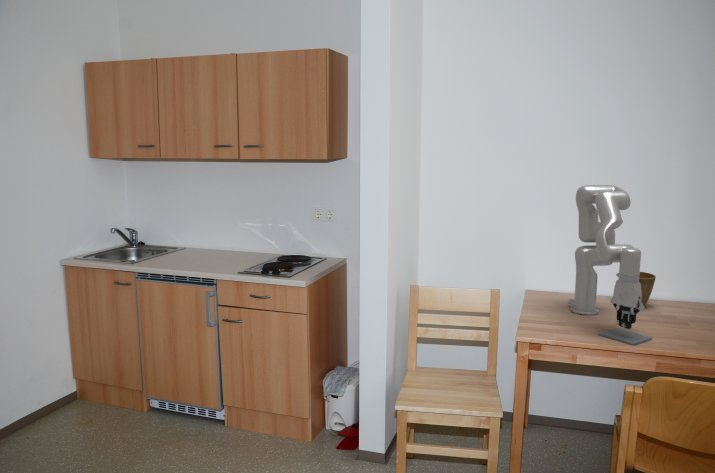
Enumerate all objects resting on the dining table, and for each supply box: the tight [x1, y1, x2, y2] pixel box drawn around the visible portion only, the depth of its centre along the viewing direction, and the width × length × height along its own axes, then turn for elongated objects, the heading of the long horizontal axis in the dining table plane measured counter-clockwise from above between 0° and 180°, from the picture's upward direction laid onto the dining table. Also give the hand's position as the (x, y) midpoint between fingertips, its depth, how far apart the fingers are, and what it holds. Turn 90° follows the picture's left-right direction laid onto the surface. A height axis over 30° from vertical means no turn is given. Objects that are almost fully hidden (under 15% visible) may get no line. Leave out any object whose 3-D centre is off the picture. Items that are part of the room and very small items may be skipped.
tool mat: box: [597, 327, 653, 346], centre depth 239 cm, size 16×13×1 cm
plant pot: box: [637, 271, 657, 309], centre depth 282 cm, size 15×15×16 cm
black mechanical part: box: [616, 305, 633, 330], centre depth 238 cm, size 7×5×10 cm
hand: (625, 321), depth 238 cm, fingers closed on black mechanical part, 4 cm apart
